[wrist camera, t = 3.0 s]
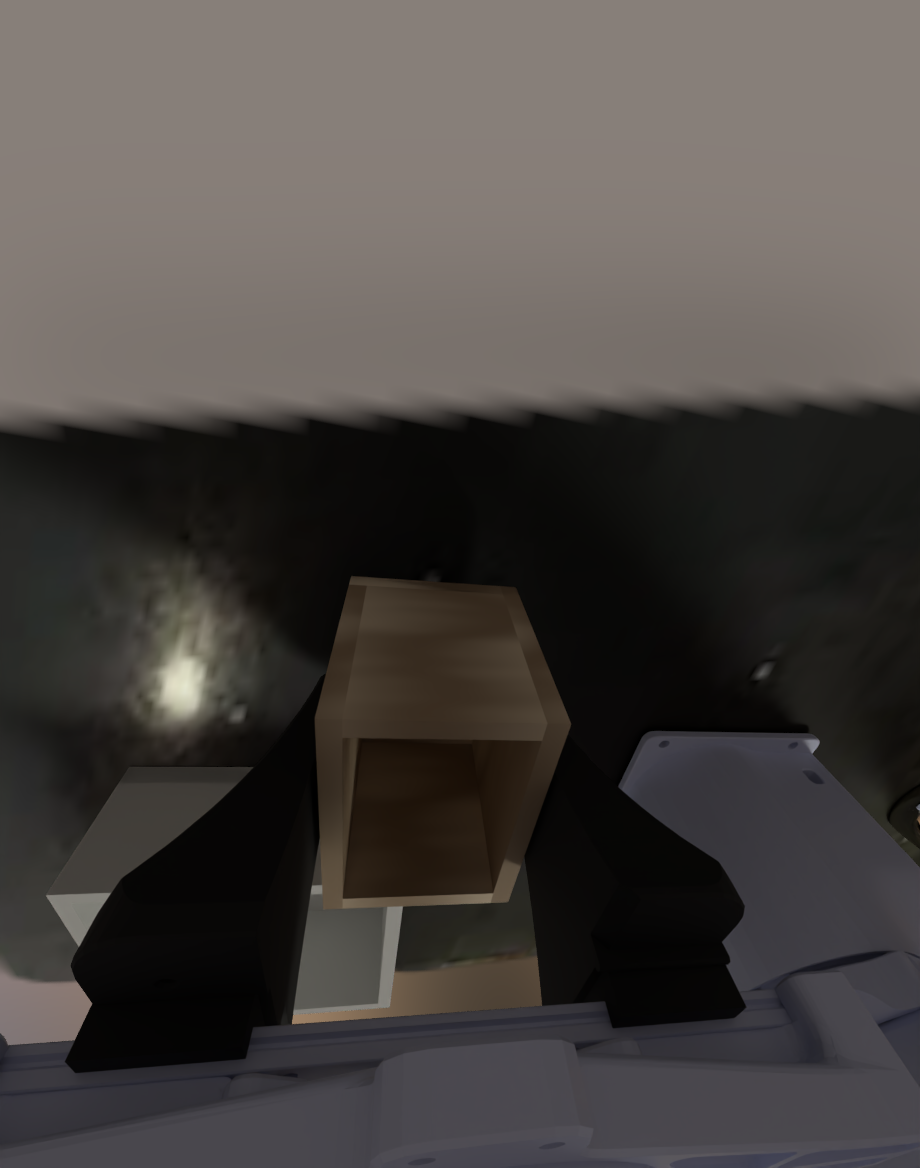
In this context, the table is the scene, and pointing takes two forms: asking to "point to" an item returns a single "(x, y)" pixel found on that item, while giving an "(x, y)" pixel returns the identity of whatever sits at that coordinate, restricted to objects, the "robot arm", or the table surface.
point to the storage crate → (166, 809)
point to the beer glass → (908, 817)
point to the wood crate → (432, 744)
